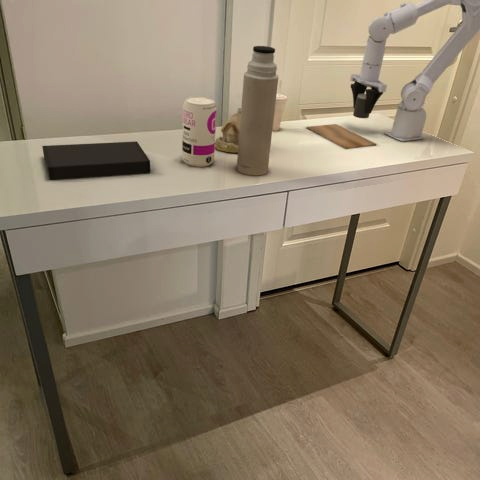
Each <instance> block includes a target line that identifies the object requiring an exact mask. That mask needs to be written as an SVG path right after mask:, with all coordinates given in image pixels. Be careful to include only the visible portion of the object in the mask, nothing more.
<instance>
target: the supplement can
mask: <svg viewBox="0 0 480 480" xmlns="http://www.w3.org/2000/svg"><path fill="white" fill-rule="evenodd" d="M217 108H218V107H217V105H216V103H215V100H214V99H212V98H210V97H206V96H189V97H186V98H185V101H184V102H183V104H182V138H181V139H182V140H181V143H182V147H181V150H182V151H181V152H182V153H181V157H182V158H181V159H182V161H184V163H185V164H186V165H188V166H191V167H197V168H199V167H201V168H202V167H208V166H210V165H211V164H212V163H214V162H215V152H216V151H215V148H216V145H215V141H216V130H217V129H216V128H217Z"/></svg>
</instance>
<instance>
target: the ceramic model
mask: <svg viewBox="0 0 480 480" xmlns="http://www.w3.org/2000/svg"><path fill="white" fill-rule="evenodd" d="M240 119H241V107H239V108H238V109H237V111H236V112H235V113H233V114H232V116H231V117H230V118H228V120H226V121H225V123H224V124H223V125H222V127H221V128H220V132H221V134H222V136H219V137H217V139H216V138H215V148H216V150H218V151H222V152H226V153H238V145H239V132H240Z"/></svg>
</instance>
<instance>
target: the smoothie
mask: <svg viewBox="0 0 480 480" xmlns="http://www.w3.org/2000/svg"><path fill="white" fill-rule="evenodd" d="M281 89H282V80H279V82H278V90H277V95H276V103H275V112H274V121H273V129H272V132H277V131H279V130H280V127H281V123H282V120H283V119H282V118H283V115H284V111H285V107H286V102H287V101H288V96H286V95H284V94H281Z"/></svg>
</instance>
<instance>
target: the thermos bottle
mask: <svg viewBox="0 0 480 480" xmlns="http://www.w3.org/2000/svg"><path fill="white" fill-rule="evenodd" d="M252 52H253V53H252V54H251V55H252V56H251V60H249V61H248V62H247V66H246V69H247V71H245V72H244V73H243V81H242V94H241V105H240V108H241V119H240V132H239V145H238V152H237V158H236V159H237V160H236V170H237V171H238V172H239V173H241V174H243V175H248V176H262V175H265V174H267V173H268V172H269V162H270V154H271V146H272V137H273V136H272V135H273V131H272V129H273V121H274V112H275V103H276V95H277V94H278V87H279V74H277V70H278V68H277V67H278V66H277V65H278V64H276V63H275V53H276V48H274V47H271V46H266V45H255V46H254V45H253V47H252Z"/></svg>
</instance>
